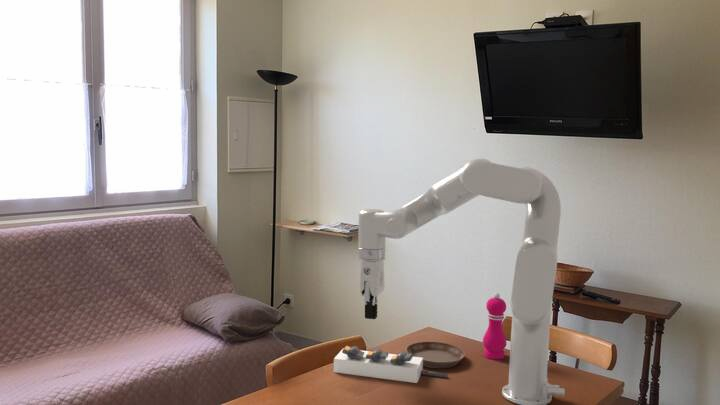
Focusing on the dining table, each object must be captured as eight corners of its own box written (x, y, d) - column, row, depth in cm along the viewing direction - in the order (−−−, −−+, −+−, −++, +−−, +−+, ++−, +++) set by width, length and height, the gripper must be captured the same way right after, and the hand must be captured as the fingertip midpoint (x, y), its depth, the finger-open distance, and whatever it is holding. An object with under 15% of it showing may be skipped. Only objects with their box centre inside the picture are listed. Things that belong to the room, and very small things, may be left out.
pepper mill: (506, 361, 186) (509, 296, 184) (481, 359, 187) (484, 295, 185) (505, 353, 193) (508, 291, 191) (482, 351, 194) (484, 289, 192)
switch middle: (388, 358, 174) (388, 349, 174) (385, 362, 170) (385, 353, 170) (369, 357, 175) (368, 348, 175) (366, 361, 172) (365, 352, 172)
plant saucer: (463, 352, 194) (464, 343, 193) (465, 373, 176) (465, 363, 176) (407, 348, 196) (408, 339, 196) (403, 369, 179) (404, 358, 178)
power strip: (449, 374, 174) (449, 360, 174) (444, 386, 166) (445, 371, 165) (342, 361, 183) (343, 347, 182) (333, 372, 174) (333, 357, 174)
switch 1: (362, 358, 176) (365, 349, 176) (359, 362, 173) (362, 354, 172) (344, 351, 177) (347, 342, 177) (341, 355, 174) (343, 346, 173)
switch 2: (413, 359, 172) (411, 350, 172) (411, 363, 168) (408, 354, 168) (394, 362, 174) (392, 353, 173) (391, 366, 170) (389, 357, 170)
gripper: (378, 259, 162) (377, 327, 164) (390, 249, 176) (389, 312, 178) (351, 257, 164) (350, 324, 166) (365, 248, 178) (364, 309, 180)
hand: (370, 317), depth 172 cm, fingers closed
